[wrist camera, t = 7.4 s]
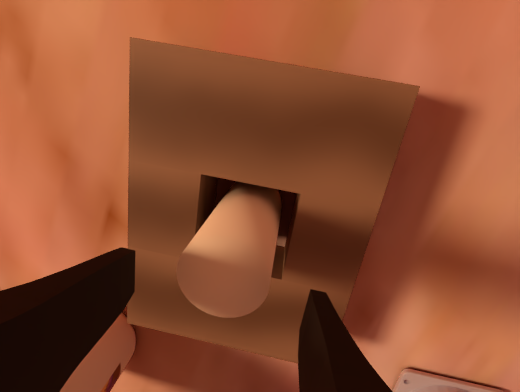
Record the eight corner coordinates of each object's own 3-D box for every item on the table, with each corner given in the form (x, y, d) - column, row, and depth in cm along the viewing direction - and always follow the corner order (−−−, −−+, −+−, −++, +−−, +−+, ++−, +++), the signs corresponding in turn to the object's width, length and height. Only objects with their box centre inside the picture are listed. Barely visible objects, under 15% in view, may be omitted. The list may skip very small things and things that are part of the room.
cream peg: (276, 234, 21) (261, 326, 13) (222, 223, 22) (173, 306, 13) (287, 182, 20) (278, 247, 11) (229, 171, 20) (179, 226, 12)
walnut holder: (321, 325, 23) (326, 370, 20) (153, 287, 24) (127, 323, 21) (393, 87, 17) (420, 86, 13) (165, 49, 18) (130, 37, 14)
